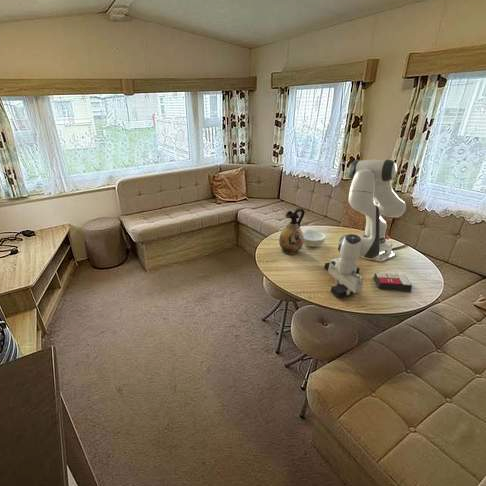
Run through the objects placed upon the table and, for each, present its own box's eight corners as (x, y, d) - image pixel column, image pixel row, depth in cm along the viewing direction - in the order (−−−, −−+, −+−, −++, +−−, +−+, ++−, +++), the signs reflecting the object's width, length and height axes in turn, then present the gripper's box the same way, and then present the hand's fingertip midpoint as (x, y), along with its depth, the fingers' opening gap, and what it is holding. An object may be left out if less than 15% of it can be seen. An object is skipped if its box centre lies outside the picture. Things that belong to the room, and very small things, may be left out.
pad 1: (344, 263, 181) (344, 259, 179) (358, 273, 170) (359, 268, 169) (324, 267, 177) (325, 263, 175) (338, 277, 167) (339, 273, 165)
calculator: (374, 271, 164) (405, 273, 161) (373, 278, 166) (403, 280, 163) (380, 282, 155) (412, 284, 151) (378, 289, 157) (410, 291, 153)
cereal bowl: (303, 237, 215) (304, 228, 212) (327, 242, 206) (328, 233, 203) (294, 245, 203) (295, 236, 200) (319, 252, 194) (320, 242, 191)
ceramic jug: (285, 258, 188) (289, 213, 174) (274, 247, 201) (277, 205, 188) (309, 254, 192) (315, 210, 178) (296, 244, 205) (301, 202, 192)
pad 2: (351, 286, 158) (352, 281, 156) (359, 292, 152) (360, 287, 151) (330, 291, 154) (331, 286, 153) (338, 298, 149) (339, 293, 148)
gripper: (368, 276, 138) (362, 300, 144) (338, 256, 155) (334, 278, 161) (357, 279, 136) (351, 303, 142) (328, 258, 153) (324, 280, 160)
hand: (342, 290), depth 152 cm, fingers closed on pad 2, 6 cm apart
